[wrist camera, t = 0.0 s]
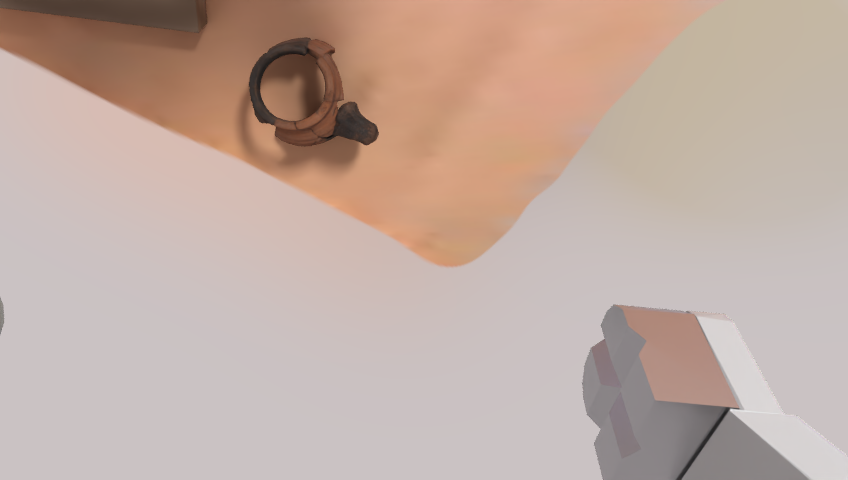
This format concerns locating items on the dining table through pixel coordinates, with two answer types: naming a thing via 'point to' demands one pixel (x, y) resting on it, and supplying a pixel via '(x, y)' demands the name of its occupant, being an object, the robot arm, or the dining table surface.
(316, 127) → the dark brown arched piece
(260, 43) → the dining table surface
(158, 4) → the seat plate
